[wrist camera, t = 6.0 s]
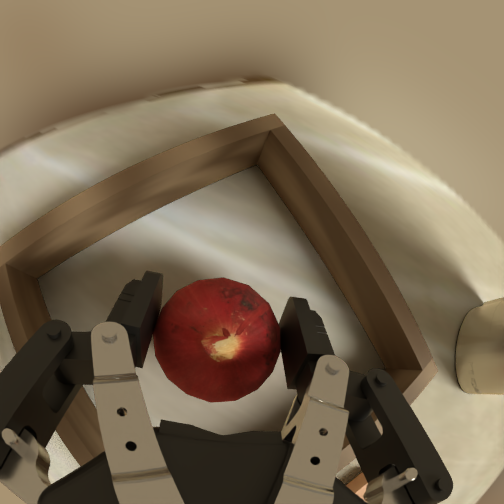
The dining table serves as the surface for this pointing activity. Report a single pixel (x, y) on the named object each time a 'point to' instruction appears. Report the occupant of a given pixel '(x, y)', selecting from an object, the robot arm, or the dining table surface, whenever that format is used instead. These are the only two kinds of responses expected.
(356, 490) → the terracotta tile
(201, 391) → the onion
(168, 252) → the dining table surface
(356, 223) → the brown wooden square tray
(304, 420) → the robot arm
